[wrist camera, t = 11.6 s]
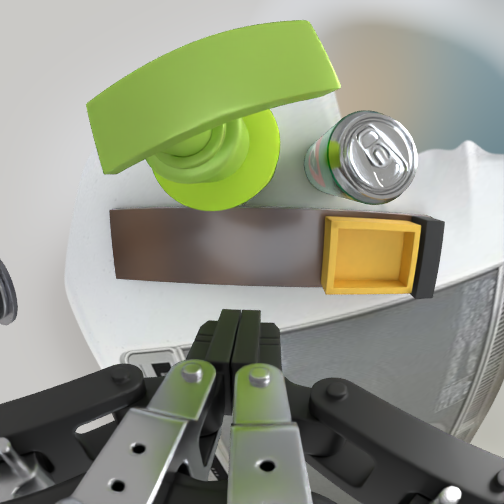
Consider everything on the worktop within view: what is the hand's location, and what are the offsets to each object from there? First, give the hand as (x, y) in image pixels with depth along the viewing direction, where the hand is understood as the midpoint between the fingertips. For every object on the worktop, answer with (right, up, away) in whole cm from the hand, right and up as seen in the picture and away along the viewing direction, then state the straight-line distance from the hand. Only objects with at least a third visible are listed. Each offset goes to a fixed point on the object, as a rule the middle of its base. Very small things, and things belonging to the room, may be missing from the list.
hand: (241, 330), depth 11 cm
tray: (+11, +3, +13) cm, 17 cm away
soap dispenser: (0, +11, +13) cm, 17 cm away
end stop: (+16, +3, +13) cm, 21 cm away
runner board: (+2, +4, +15) cm, 15 cm away
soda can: (+7, +11, +13) cm, 18 cm away
